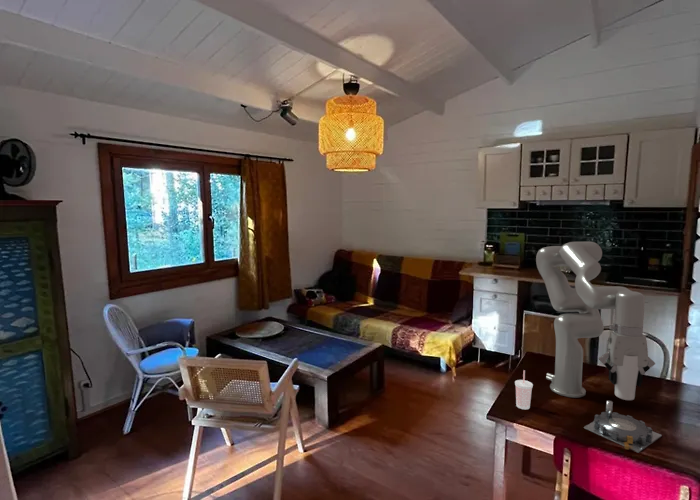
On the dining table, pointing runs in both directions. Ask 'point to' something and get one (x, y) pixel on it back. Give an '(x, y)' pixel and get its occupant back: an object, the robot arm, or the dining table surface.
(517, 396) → the beverage cup
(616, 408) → the dining table surface
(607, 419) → the sprocket
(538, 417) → the dining table surface
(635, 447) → the base plate
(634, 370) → the drinking glass
